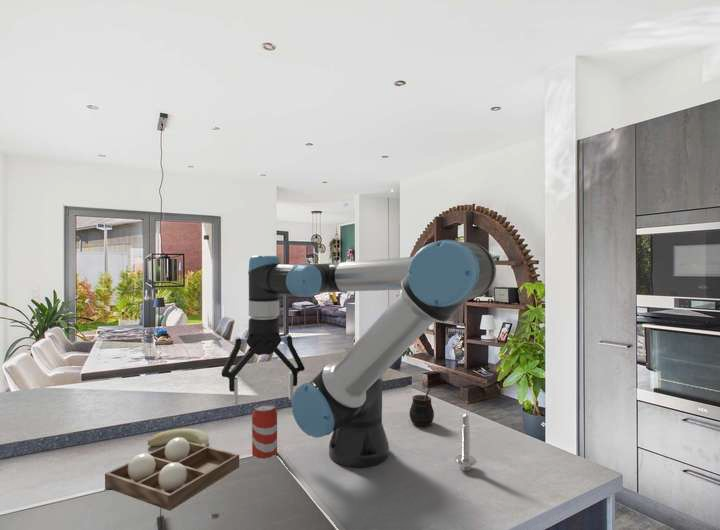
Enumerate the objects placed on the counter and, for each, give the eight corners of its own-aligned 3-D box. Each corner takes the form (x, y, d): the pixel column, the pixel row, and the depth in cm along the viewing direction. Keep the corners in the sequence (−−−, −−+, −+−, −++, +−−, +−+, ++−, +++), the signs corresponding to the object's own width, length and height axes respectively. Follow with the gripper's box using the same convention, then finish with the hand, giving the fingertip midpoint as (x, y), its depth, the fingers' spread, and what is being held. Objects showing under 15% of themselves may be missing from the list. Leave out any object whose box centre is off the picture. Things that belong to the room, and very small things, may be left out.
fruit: (159, 438, 121) (159, 426, 121) (214, 438, 121) (213, 426, 121) (146, 450, 114) (146, 437, 114) (204, 450, 114) (204, 437, 114)
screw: (452, 470, 102) (457, 462, 107) (473, 475, 100) (477, 466, 104) (453, 415, 102) (458, 409, 106) (474, 419, 100) (478, 412, 104)
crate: (239, 467, 104) (239, 454, 104) (169, 510, 86) (169, 495, 86) (179, 450, 113) (179, 439, 113) (105, 487, 95) (104, 473, 95)
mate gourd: (404, 425, 130) (405, 391, 130) (416, 417, 136) (416, 385, 136) (426, 430, 126) (427, 395, 126) (438, 422, 132) (438, 389, 132)
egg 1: (161, 476, 98) (161, 451, 98) (139, 488, 93) (139, 462, 93) (144, 471, 101) (144, 447, 101) (122, 482, 96) (121, 457, 96)
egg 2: (194, 458, 107) (194, 436, 107) (176, 468, 102) (175, 445, 102) (178, 454, 110) (178, 432, 109) (159, 463, 105) (159, 440, 104)
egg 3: (192, 486, 94) (192, 460, 94) (171, 499, 89) (171, 472, 89) (174, 480, 97) (174, 455, 97) (152, 493, 92) (152, 466, 92)
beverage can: (262, 462, 106) (261, 413, 106) (247, 454, 111) (247, 407, 110) (282, 454, 111) (282, 407, 110) (267, 446, 115) (267, 401, 115)
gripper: (309, 313, 118) (309, 392, 118) (211, 316, 109) (211, 401, 110) (316, 317, 110) (315, 401, 111) (211, 321, 102) (211, 411, 103)
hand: (263, 401), depth 111 cm, fingers open, 13 cm apart
